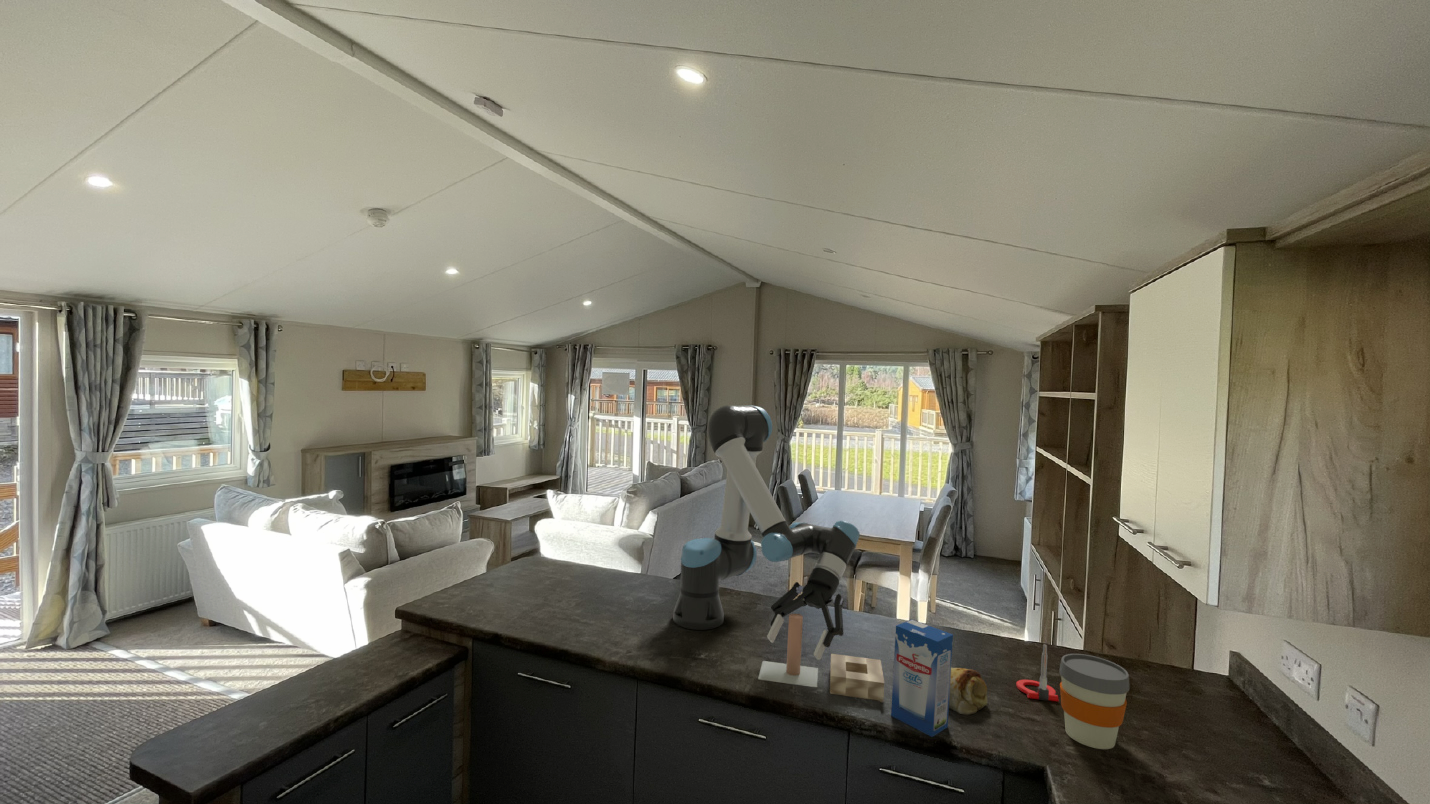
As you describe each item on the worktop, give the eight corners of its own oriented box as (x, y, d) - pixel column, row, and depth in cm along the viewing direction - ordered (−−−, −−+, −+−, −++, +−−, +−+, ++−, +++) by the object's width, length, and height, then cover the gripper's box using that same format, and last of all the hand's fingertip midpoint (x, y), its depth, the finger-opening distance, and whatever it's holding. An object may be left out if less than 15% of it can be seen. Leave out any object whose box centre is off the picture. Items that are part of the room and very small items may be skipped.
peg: (785, 674, 148) (788, 617, 148) (786, 668, 152) (789, 612, 151) (799, 676, 148) (802, 619, 147) (800, 669, 151) (803, 614, 151)
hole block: (829, 694, 140) (830, 675, 140) (830, 671, 152) (831, 653, 152) (883, 702, 138) (884, 683, 138) (879, 677, 150) (880, 659, 150)
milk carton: (890, 715, 132) (895, 625, 132) (906, 706, 136) (911, 619, 136) (932, 737, 125) (937, 641, 124) (948, 727, 129) (953, 634, 128)
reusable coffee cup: (1053, 739, 126) (1057, 668, 126) (1058, 713, 136) (1062, 648, 136) (1125, 762, 119) (1130, 687, 119) (1125, 733, 130) (1129, 664, 129)
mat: (757, 680, 145) (757, 679, 145) (762, 662, 155) (762, 660, 155) (816, 688, 143) (817, 687, 143) (818, 669, 153) (818, 668, 153)
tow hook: (1011, 682, 152) (1024, 699, 142) (1014, 630, 152) (1027, 643, 143) (1047, 686, 150) (1062, 703, 141) (1049, 634, 151) (1065, 648, 141)
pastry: (984, 722, 132) (986, 685, 132) (924, 705, 138) (926, 670, 138) (989, 694, 144) (991, 660, 144) (934, 680, 150) (936, 648, 150)
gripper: (874, 594, 153) (843, 672, 142) (792, 571, 169) (757, 640, 158) (866, 578, 149) (832, 657, 138) (782, 556, 165) (746, 625, 154)
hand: (792, 648), depth 148 cm, fingers open, 13 cm apart
